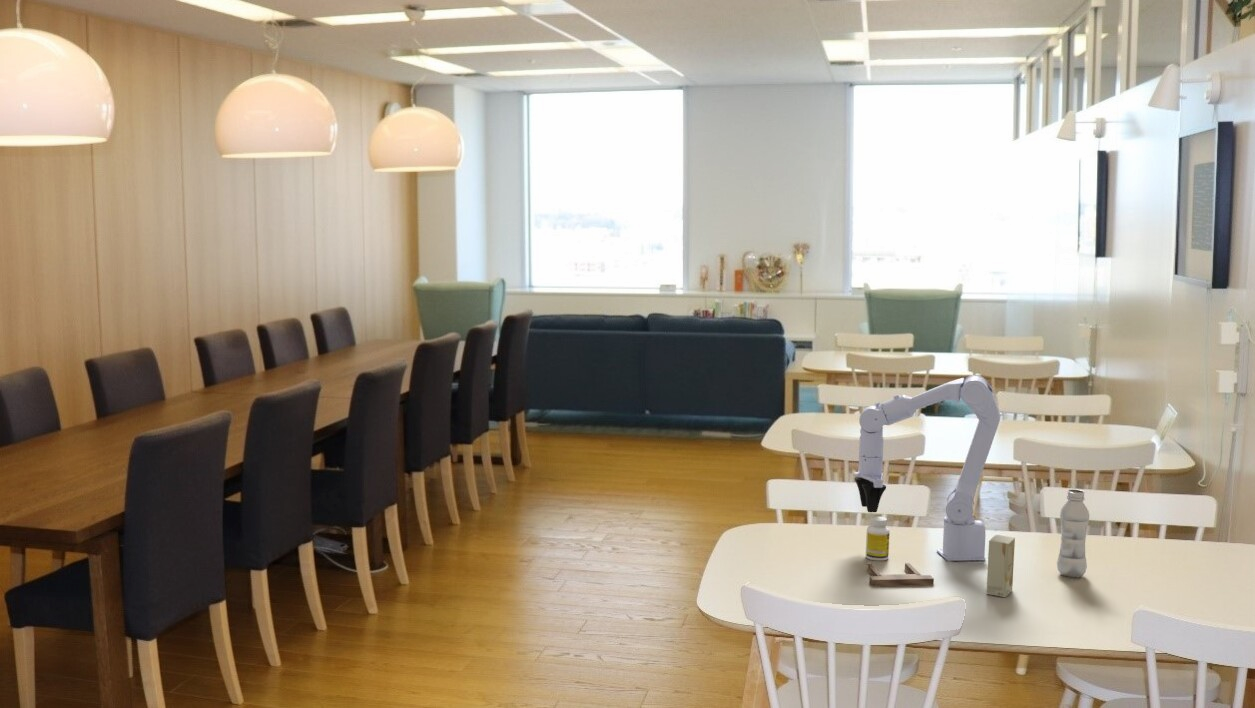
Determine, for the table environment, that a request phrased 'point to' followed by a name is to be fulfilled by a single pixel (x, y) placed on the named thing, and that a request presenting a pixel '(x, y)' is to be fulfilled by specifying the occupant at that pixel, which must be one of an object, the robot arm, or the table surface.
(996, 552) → the skincare box
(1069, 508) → the plastic bottle
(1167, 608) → the table surface
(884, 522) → the supplement bottle
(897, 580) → the wooden bracket frame
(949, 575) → the table surface
